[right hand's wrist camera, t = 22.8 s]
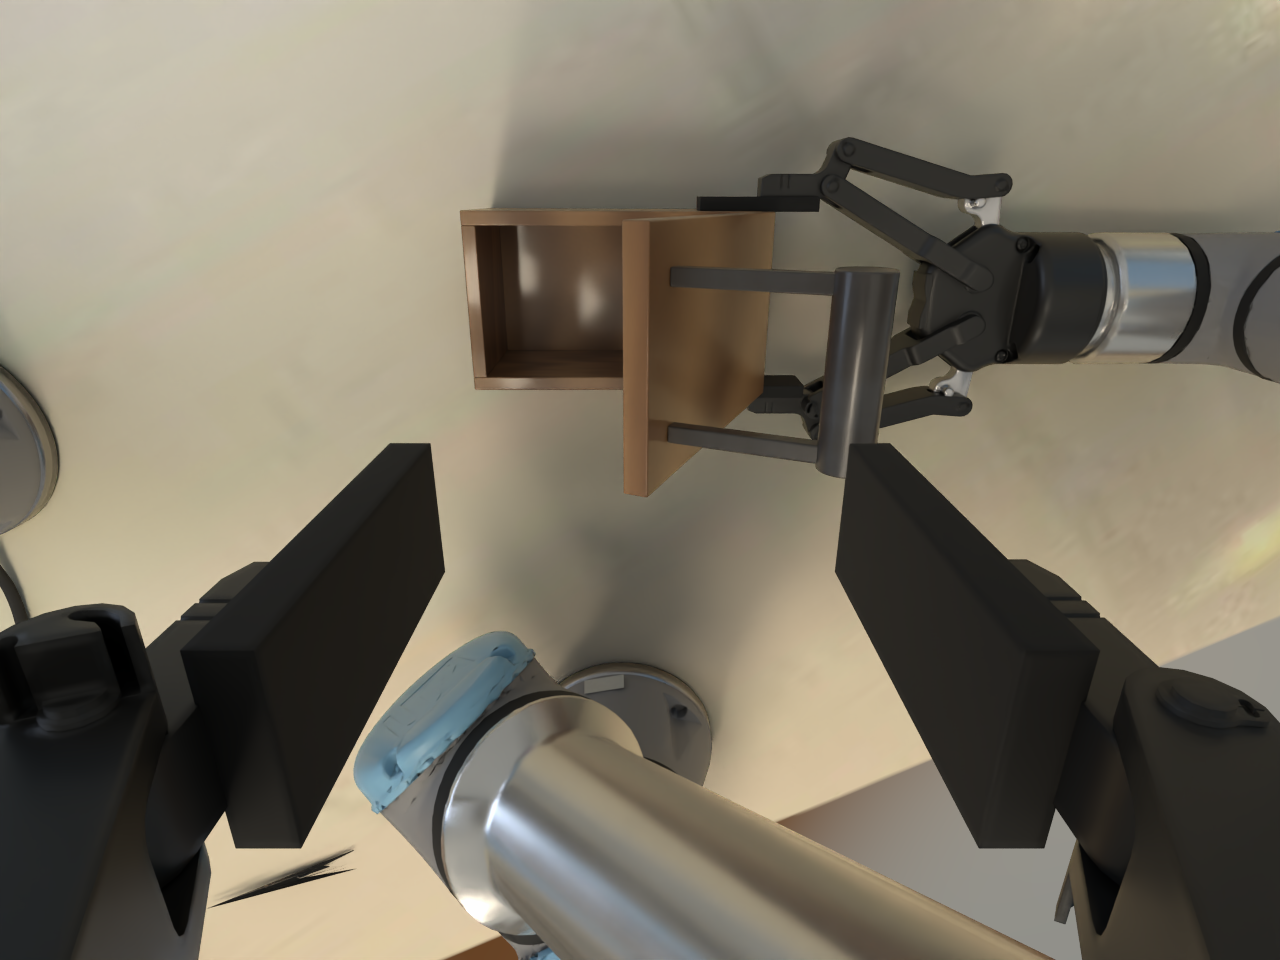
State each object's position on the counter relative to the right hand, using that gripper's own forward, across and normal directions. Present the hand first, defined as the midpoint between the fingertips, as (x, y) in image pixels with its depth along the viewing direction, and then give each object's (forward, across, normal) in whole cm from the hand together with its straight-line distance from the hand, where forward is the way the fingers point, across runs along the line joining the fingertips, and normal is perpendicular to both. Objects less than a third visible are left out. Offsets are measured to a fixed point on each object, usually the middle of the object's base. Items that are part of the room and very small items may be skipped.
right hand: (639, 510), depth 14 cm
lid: (+20, -3, 0) cm, 20 cm away
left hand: (+31, -3, 0) cm, 31 cm away
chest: (+37, +2, 0) cm, 37 cm away
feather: (+37, +39, +57) cm, 79 cm away
